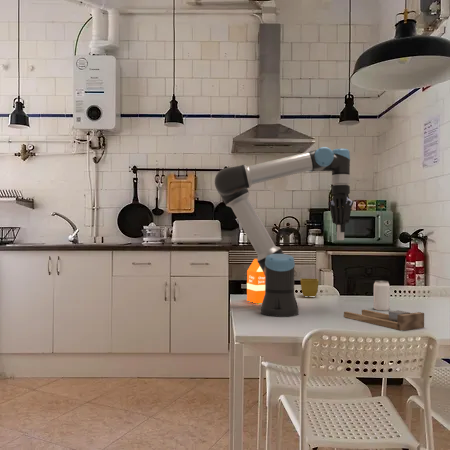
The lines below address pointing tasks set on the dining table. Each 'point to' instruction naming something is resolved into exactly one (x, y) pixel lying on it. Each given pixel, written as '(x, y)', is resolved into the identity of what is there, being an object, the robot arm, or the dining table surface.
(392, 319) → the block
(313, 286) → the flower pot
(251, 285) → the orange juice
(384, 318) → the oak track
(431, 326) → the dining table surface
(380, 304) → the can
